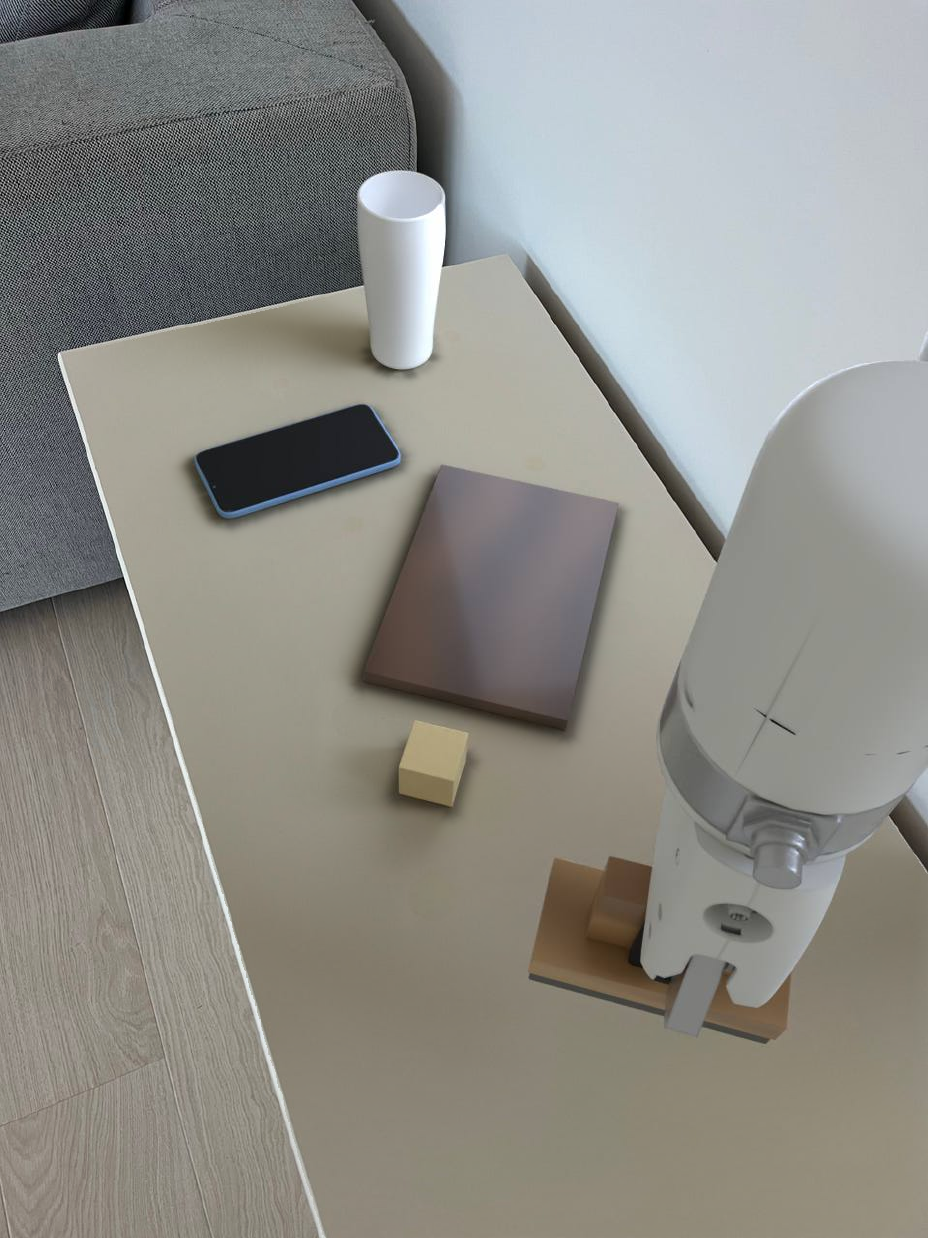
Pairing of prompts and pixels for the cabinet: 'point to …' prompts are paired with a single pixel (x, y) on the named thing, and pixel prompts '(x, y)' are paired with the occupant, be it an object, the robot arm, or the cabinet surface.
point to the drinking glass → (401, 263)
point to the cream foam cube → (433, 763)
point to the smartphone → (296, 460)
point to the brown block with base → (624, 948)
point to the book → (496, 597)
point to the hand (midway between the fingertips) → (668, 938)
